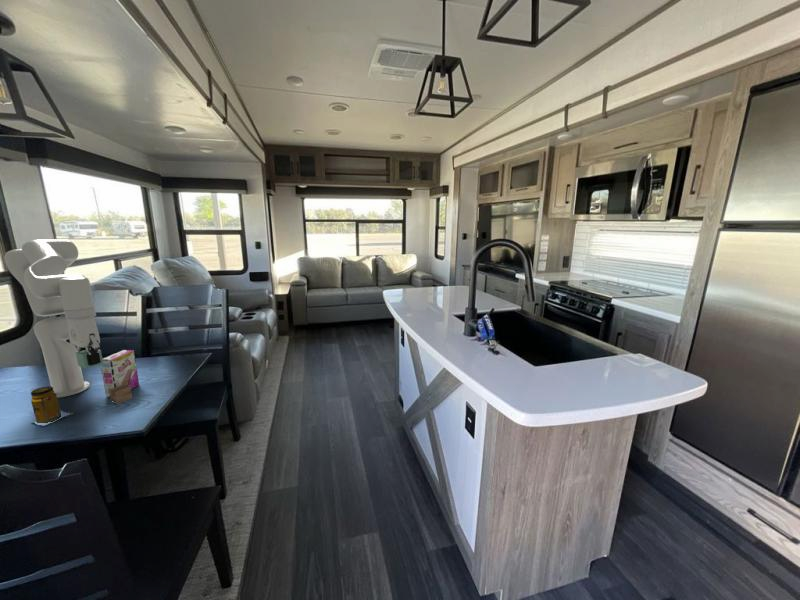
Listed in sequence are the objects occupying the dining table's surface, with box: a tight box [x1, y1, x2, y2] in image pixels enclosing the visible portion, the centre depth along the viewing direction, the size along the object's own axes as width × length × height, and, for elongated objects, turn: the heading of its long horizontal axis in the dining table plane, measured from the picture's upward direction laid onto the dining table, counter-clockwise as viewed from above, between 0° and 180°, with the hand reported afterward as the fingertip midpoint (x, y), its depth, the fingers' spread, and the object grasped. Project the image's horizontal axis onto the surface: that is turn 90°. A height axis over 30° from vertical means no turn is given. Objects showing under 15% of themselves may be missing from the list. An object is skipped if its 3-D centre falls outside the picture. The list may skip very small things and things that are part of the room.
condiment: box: [30, 385, 74, 423], centre depth 114 cm, size 7×8×12 cm
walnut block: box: [109, 384, 133, 405], centre depth 129 cm, size 5×5×5 cm
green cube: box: [76, 348, 103, 370], centre depth 114 cm, size 5×5×5 cm
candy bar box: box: [100, 349, 140, 398], centre depth 134 cm, size 11×5×16 cm, turn 178°
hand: (90, 362), depth 114 cm, fingers closed on green cube, 4 cm apart
